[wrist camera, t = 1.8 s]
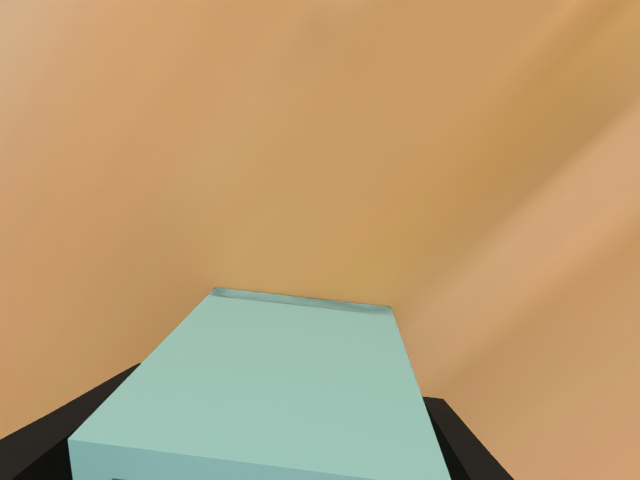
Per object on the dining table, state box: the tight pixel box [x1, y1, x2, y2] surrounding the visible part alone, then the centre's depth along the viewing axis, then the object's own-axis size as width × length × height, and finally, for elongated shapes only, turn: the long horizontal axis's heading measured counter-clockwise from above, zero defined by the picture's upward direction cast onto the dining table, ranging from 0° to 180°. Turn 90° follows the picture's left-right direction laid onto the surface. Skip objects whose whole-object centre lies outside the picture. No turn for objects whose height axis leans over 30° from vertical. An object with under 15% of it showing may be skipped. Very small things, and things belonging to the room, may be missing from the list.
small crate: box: [68, 287, 451, 480], centre depth 8 cm, size 5×5×6 cm
